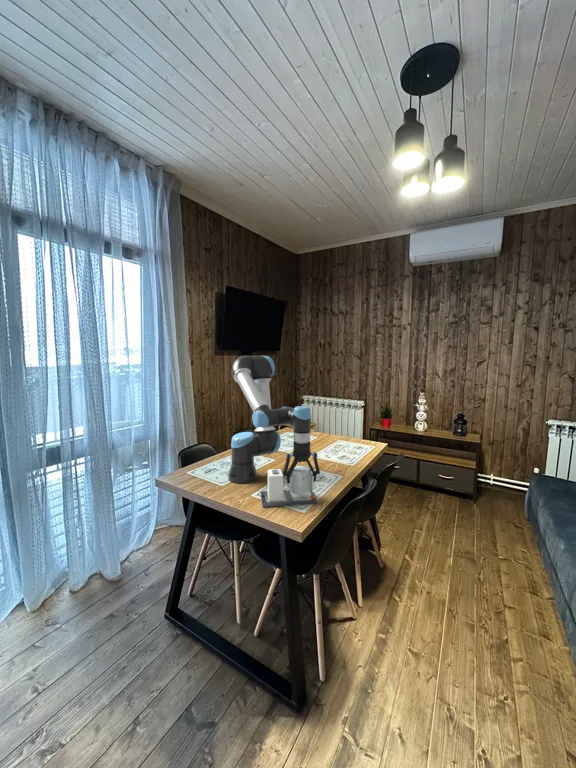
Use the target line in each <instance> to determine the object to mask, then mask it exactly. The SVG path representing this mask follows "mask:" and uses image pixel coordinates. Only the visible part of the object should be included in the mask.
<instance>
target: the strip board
mask: <svg viewBox="0 0 576 768" xmlns="http://www.w3.org/2000/svg"><path fill="white" fill-rule="evenodd" d="M267 492H268V490H265V491H260V498H261V499H260V500H261V507H262V508H273V507H285V506H286V507H287V506H304V505H317V504H318V498H317V496H316V495H315V493H314V490H312V489H311V490H310V491H309V492H307V493H305V494H304V495H302V496H299V495H296V494H293V493H291V491H290V490H289V489H283V500H276V501H269V498H268V493H267Z"/></svg>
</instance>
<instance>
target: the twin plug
mask: <svg viewBox="0 0 576 768" xmlns="http://www.w3.org/2000/svg"><path fill="white" fill-rule="evenodd" d="M283 490H284V475H283V471H282V469H281V468H275V469H274V468H272V469H267V491H268V492H267V493H268V498H269V501H276V500H283Z"/></svg>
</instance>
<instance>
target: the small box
mask: <svg viewBox="0 0 576 768" xmlns="http://www.w3.org/2000/svg"><path fill="white" fill-rule="evenodd" d="M311 474H312V471H311V469H310V467H308V466H307V467H306V466H303V465H300V466H298V467H297V468H296V467H295V468H294V470H293V472H292V474H291V477H292V491H291V493H293V494H296V495H299V496H302V495H304V494H305V493H307V492H309V491H310V490H311Z"/></svg>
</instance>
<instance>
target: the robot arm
mask: <svg viewBox="0 0 576 768" xmlns="http://www.w3.org/2000/svg"><path fill="white" fill-rule="evenodd" d="M275 371H276V366H275V363H274V360H273V359H272V358H271V357H270V356H268V355H241V356H239V357H238V358H236V359H235V360H234V362H233V364H232V366H231V375H232V378H233V379H234V381H235V382H236V383H237V384H238V385H239V387H240V389H241V391H242V393H243V395H244V397H245V399H246V400H247V402H248V404H249V406H250V408H251V410H252V416H251V420H252V423H253V426H254V427H255V429H254V432H251V431H244V432H243V431H242V432H238V433H236V434H234V435H233V436H232V437H231V444H230V449H231V453H230V454H231V457H230V458H231V463H230V467H229V471H228V474H227V476H228V477H227V479H228V480H229V481H230V482H232V483H235V484H247V483H251V482H254V481H255V480H257V479H258V471H257V468H256V466H255V462H254V461H255V457H260V456H265V455H271V454H275V453H277V452H278V451H279V449H280V447H281V442H282V441H281V439H282V438H281V435H280V433H279V432H278V431H277V430H276V426H277V427H278V426H285V425H289V426H290V425H291V426H293V445H292V446H293V450H292V452H290V453H289V452H287V453H286V455H285V456H286V457H285V458H286V459H285V463H284V466H283V471H282V474H283V477H286V483H287V484H288V490H290V491H292V477H291V475H292V472H293V470H294V469H296V466H297V465H298V463H306V464H307V465H308V466H307V467H308V468H310V469H311V489H312V491H314V490H315V488H314V487H315V486H314V484H315V483H316V481H317V475H320V474H321V471H320V470H321V469H320V468H319V467H320V466H319V463H318V462H319V461H318V453H317V452H316V451H313V452H312V451H311V427H312V426H311V423H312V420H311V419H312V414H311V412H312V411H311V410H312V409H311V408H310V406H304V405H297V406H294V408H293V407H291V406H282V407H281V408H275V409H274V408H273V409H272V404H271V403H272V402H271V390H270V382H271V380H272V377H273V376H274V375H275ZM311 457H312V460H313V464H314V467H315V469H314V467H313V465H312V464H311V461H310V460H309V459H310V458H311ZM292 458H294V459H293V461H292V463H291V464H290V461H291V459H292ZM289 465H290V467H289Z"/></svg>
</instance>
